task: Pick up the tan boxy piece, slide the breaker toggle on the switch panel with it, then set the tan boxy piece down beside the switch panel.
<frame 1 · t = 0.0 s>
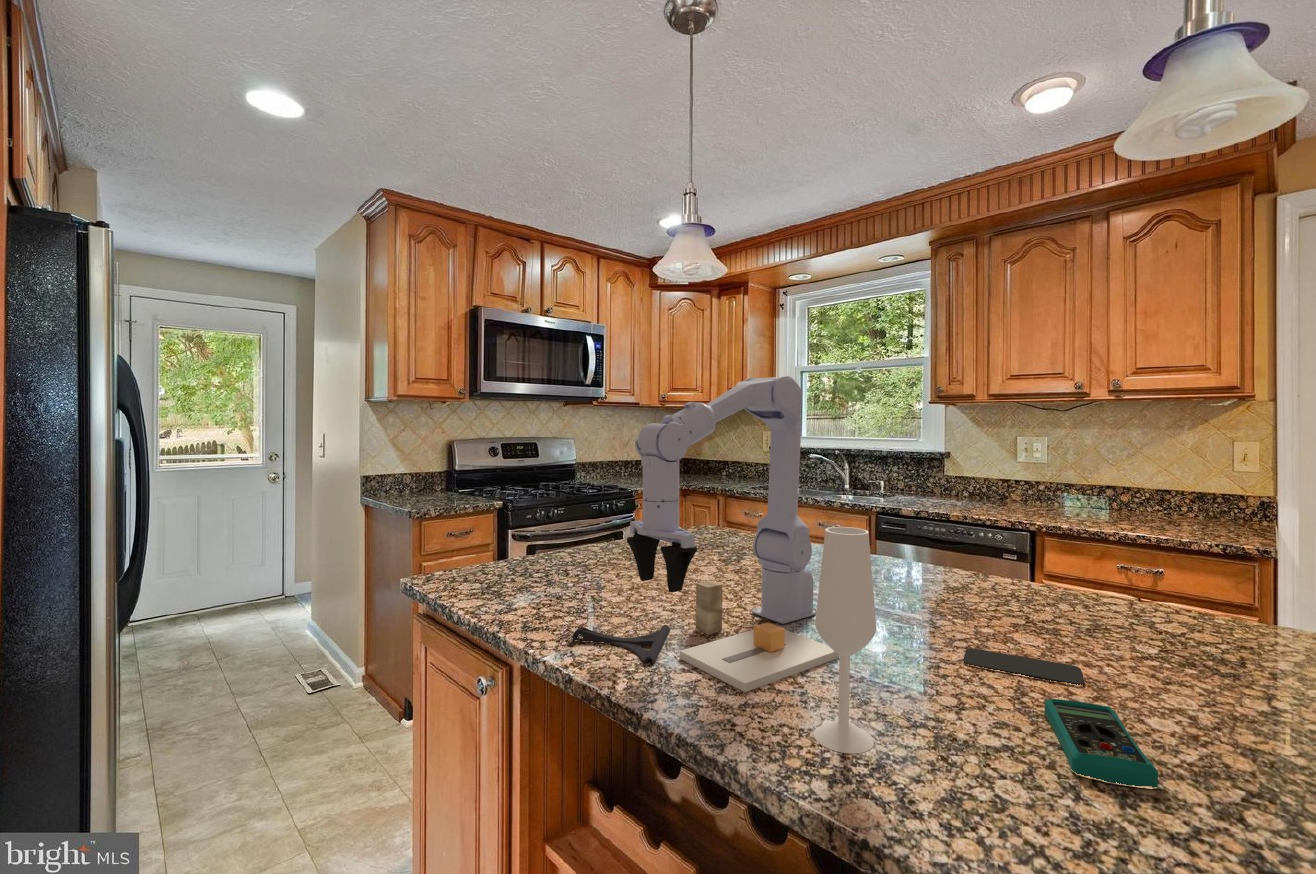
hand: (660, 585, 97), 10 cm above the countertop, tool pointing down, fingers open, 7 cm apart
breaker toggle: (769, 637, 95), point 3 cm above the countertop, slide at 0.0 cm
champagne flute: (843, 739, 71), on the countertop
phone: (1020, 671, 91), on the countertop
bracket: (618, 648, 100), on the countertop
tan boxy piece: (708, 629, 107), on the countertop
switch panel: (759, 658, 94), on the countertop
digital multimeter: (1094, 754, 69), on the countertop
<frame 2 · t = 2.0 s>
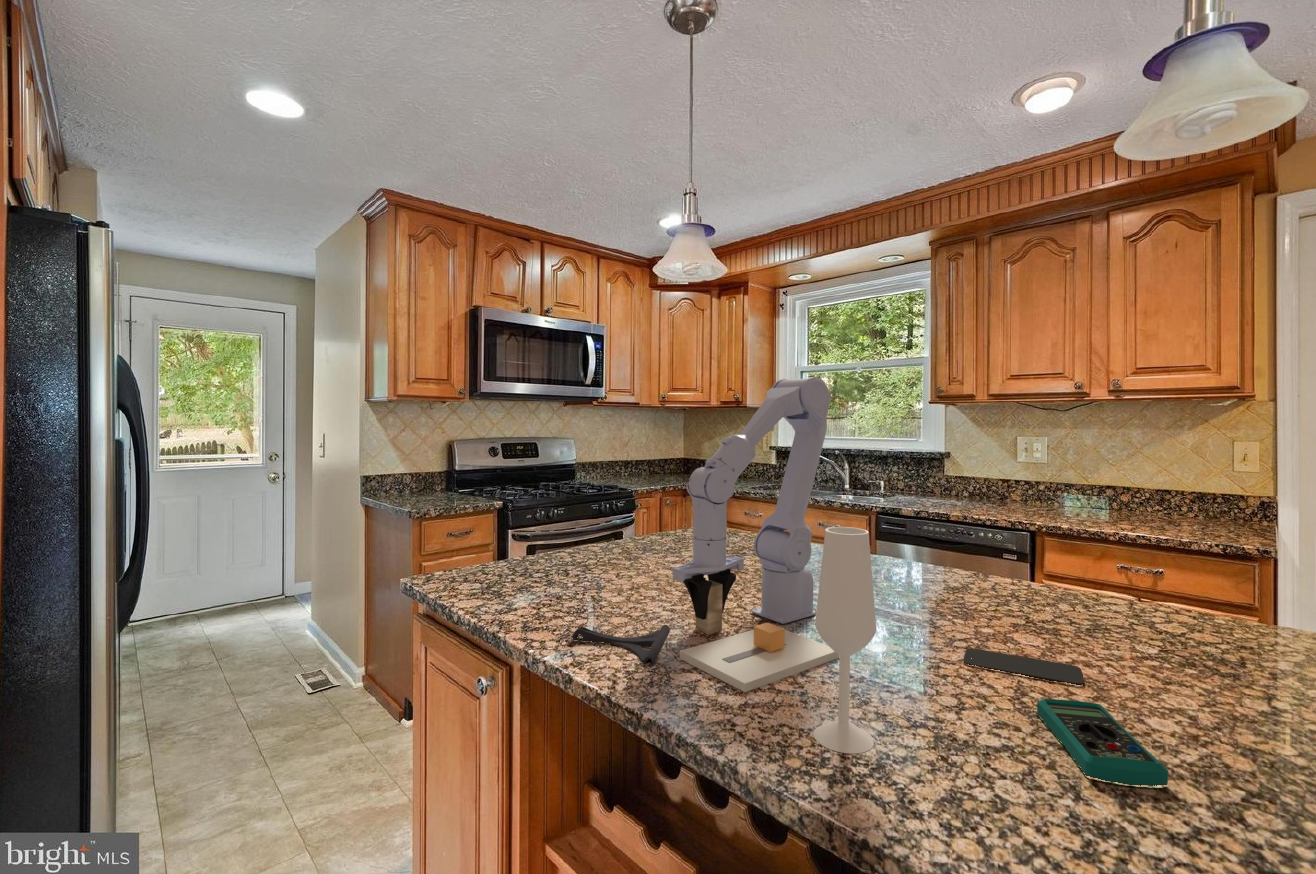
hand: (709, 615, 106), 2 cm above the countertop, tool pointing down, fingers closed on tan boxy piece, 3 cm apart
tan boxy piece: (708, 629, 107), on the countertop, touching gripper
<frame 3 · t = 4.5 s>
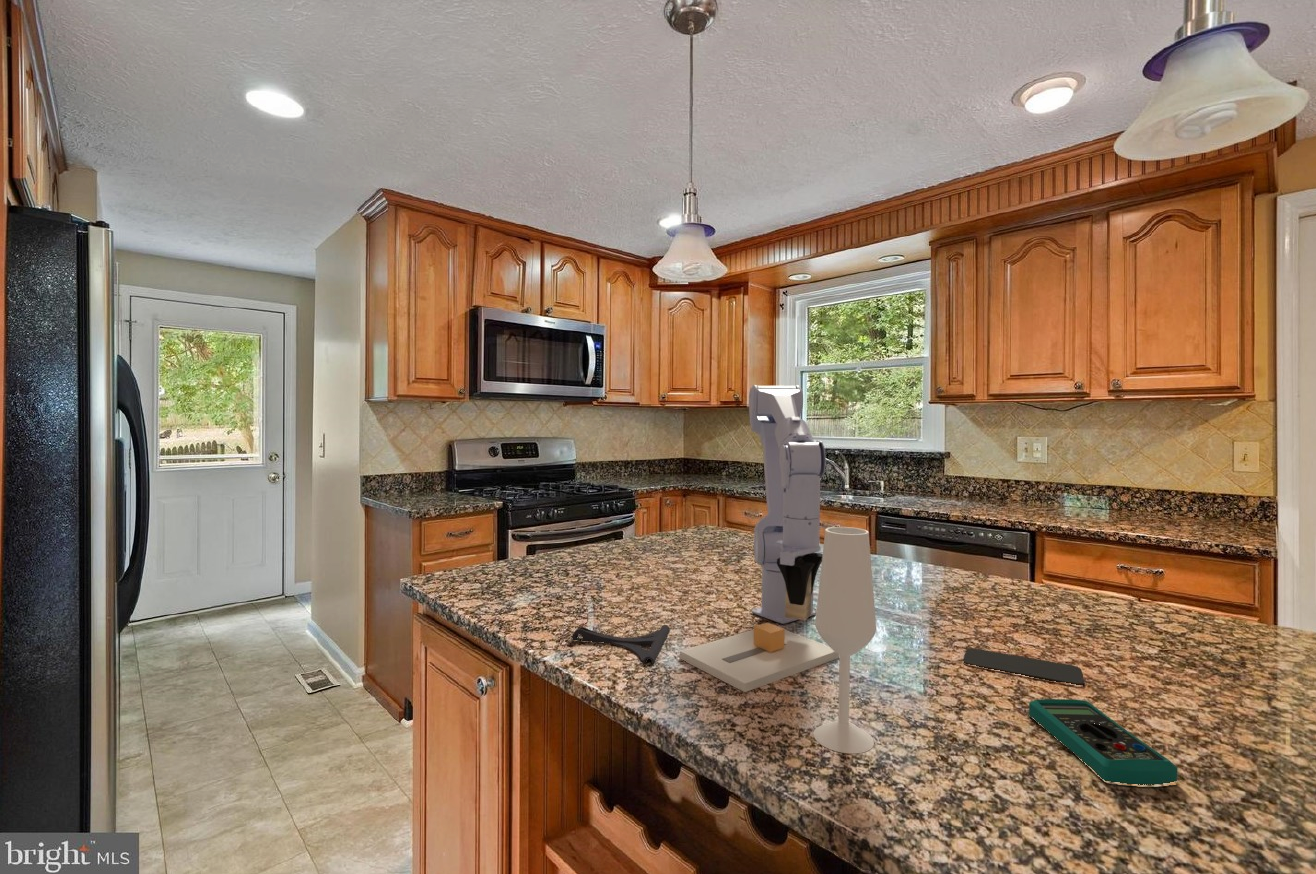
hand: (800, 600, 99), 7 cm above the countertop, tool pointing down, fingers closed on tan boxy piece, 3 cm apart
tan boxy piece: (798, 616, 99), point 5 cm above the countertop, touching gripper
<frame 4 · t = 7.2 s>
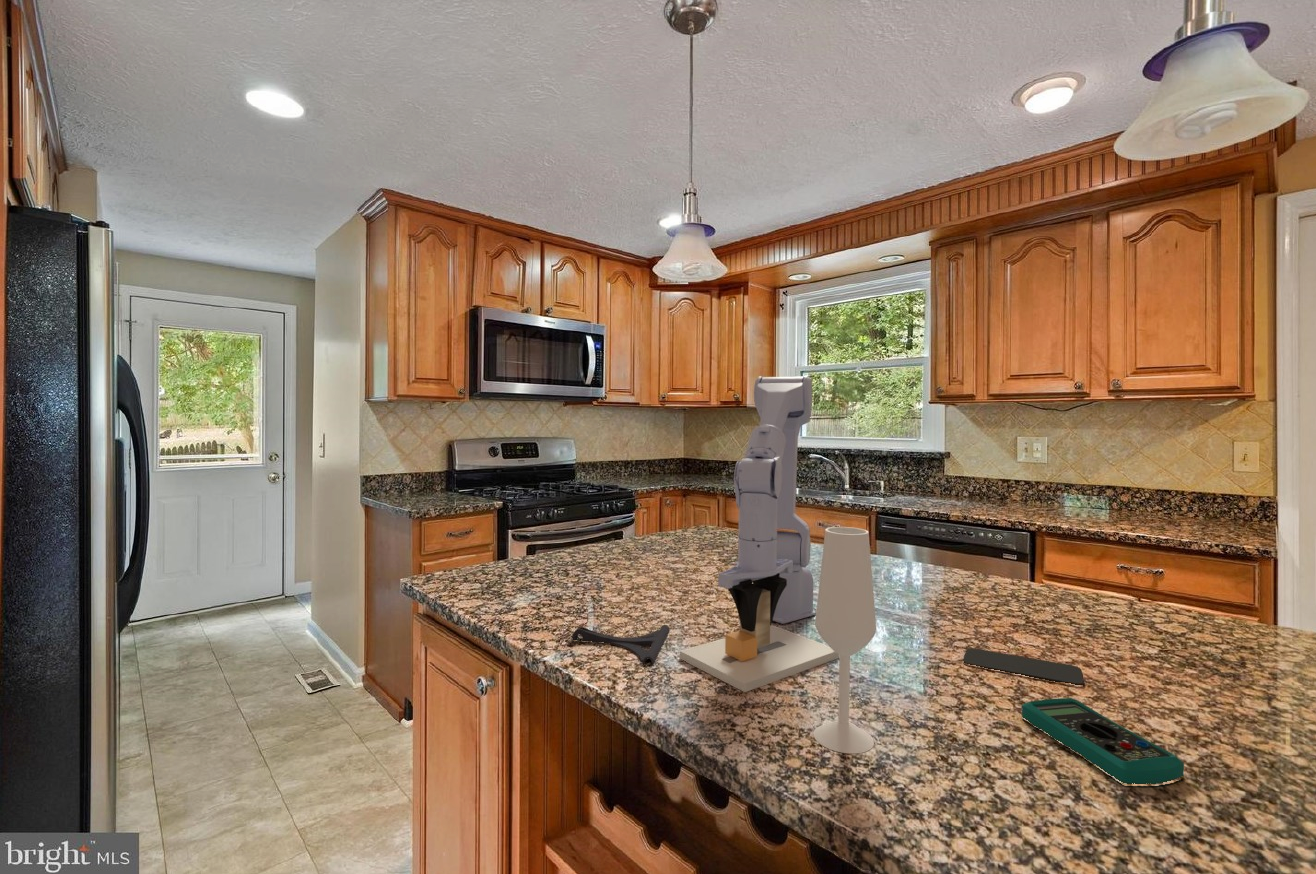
hand: (756, 626, 93), 5 cm above the countertop, tool pointing down, fingers closed on tan boxy piece, 3 cm apart
breaker toggle: (741, 645, 92), point 3 cm above the countertop, slide at 6.0 cm, touching tan boxy piece
tan boxy piece: (754, 642, 94), point 2 cm above the countertop, touching breaker toggle, gripper
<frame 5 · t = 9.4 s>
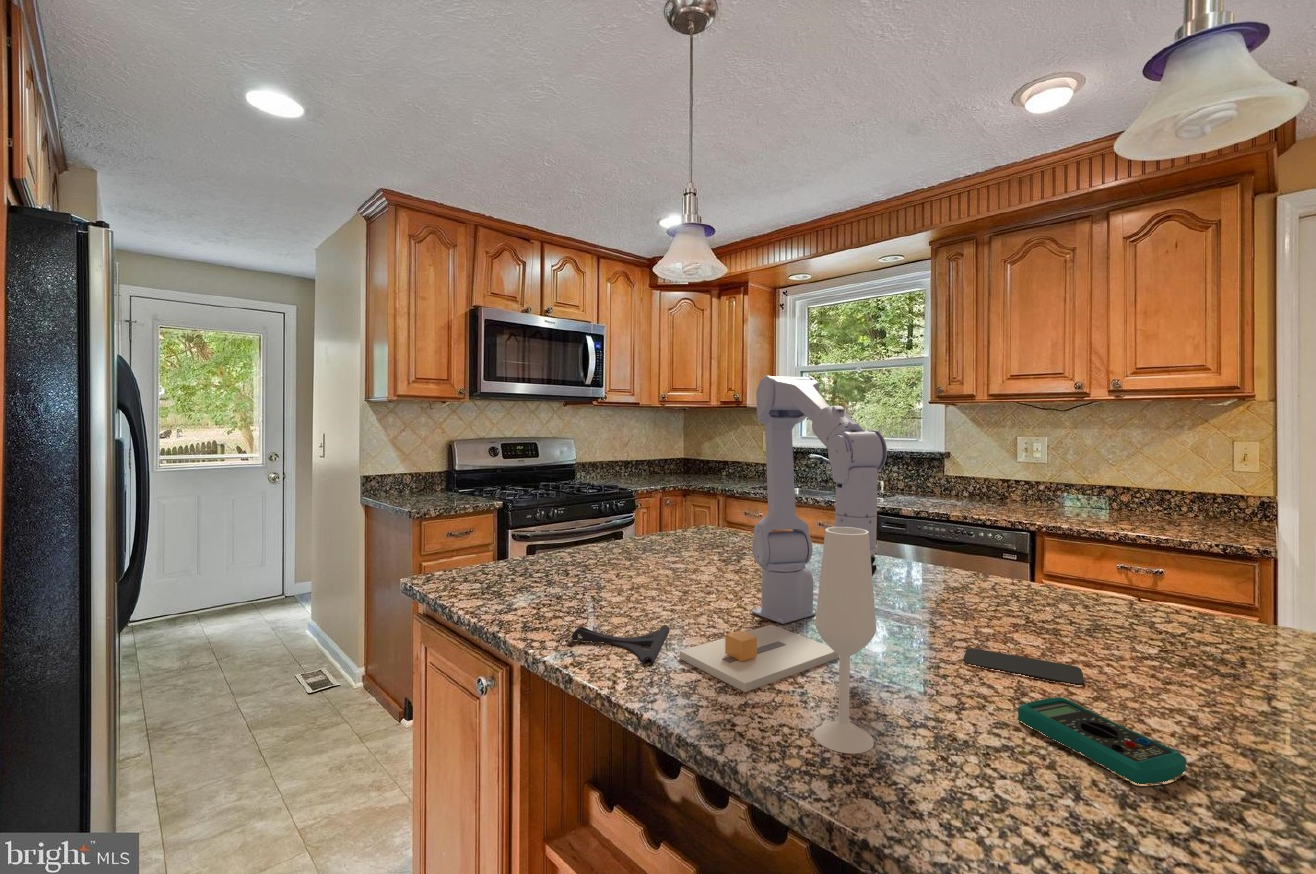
hand: (854, 607, 90), 9 cm above the countertop, tool pointing down, fingers closed on tan boxy piece, 3 cm apart
breaker toggle: (741, 645, 92), point 3 cm above the countertop, slide at 6.0 cm
tan boxy piece: (850, 624, 90), point 7 cm above the countertop, touching gripper
when the fingers open (3 cm above the countertop, at t = 11.5 s): tan boxy piece stays where it is, on the countertop.
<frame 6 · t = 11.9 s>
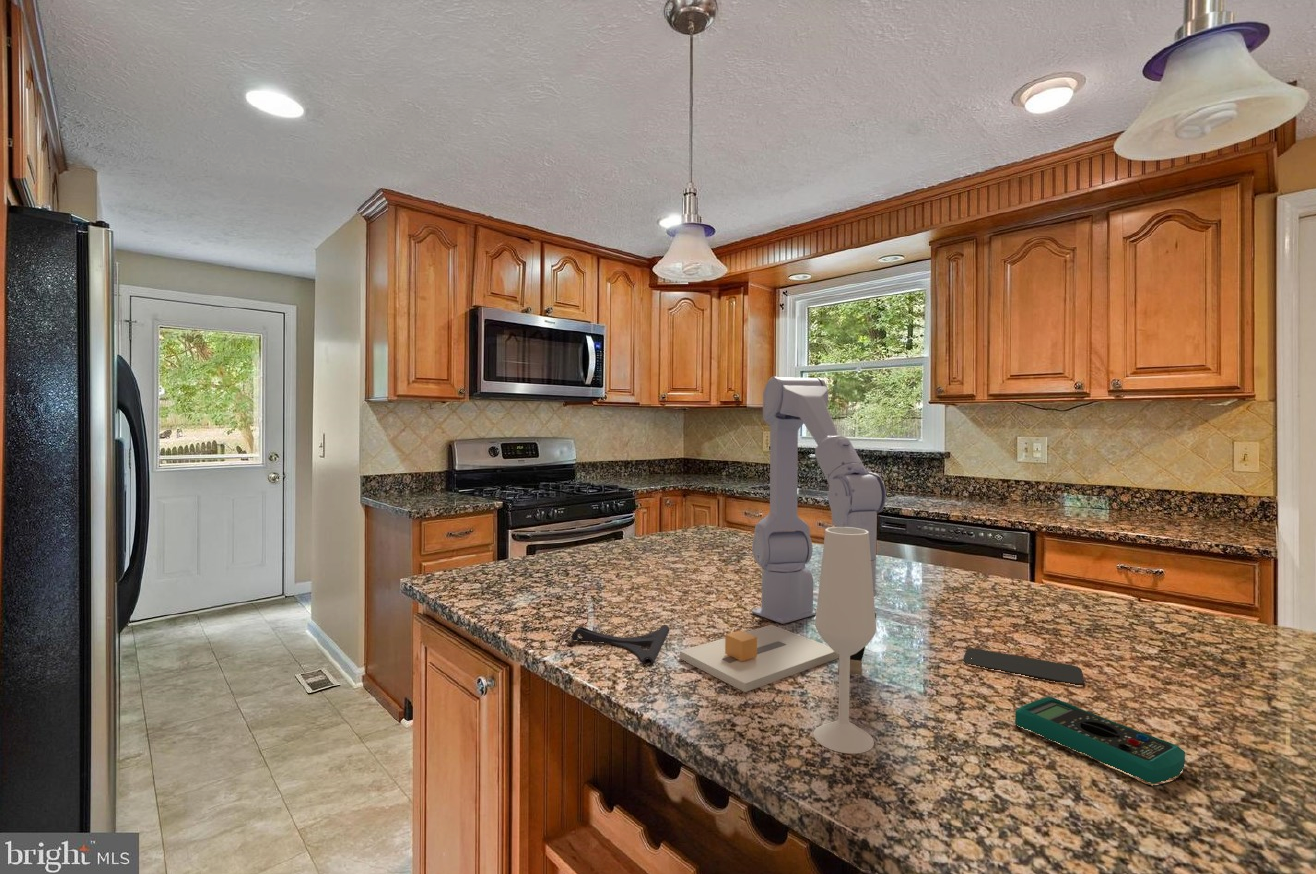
hand: (853, 649, 90), 3 cm above the countertop, tool pointing down, fingers open, 7 cm apart
tan boxy piece: (849, 669, 90), on the countertop
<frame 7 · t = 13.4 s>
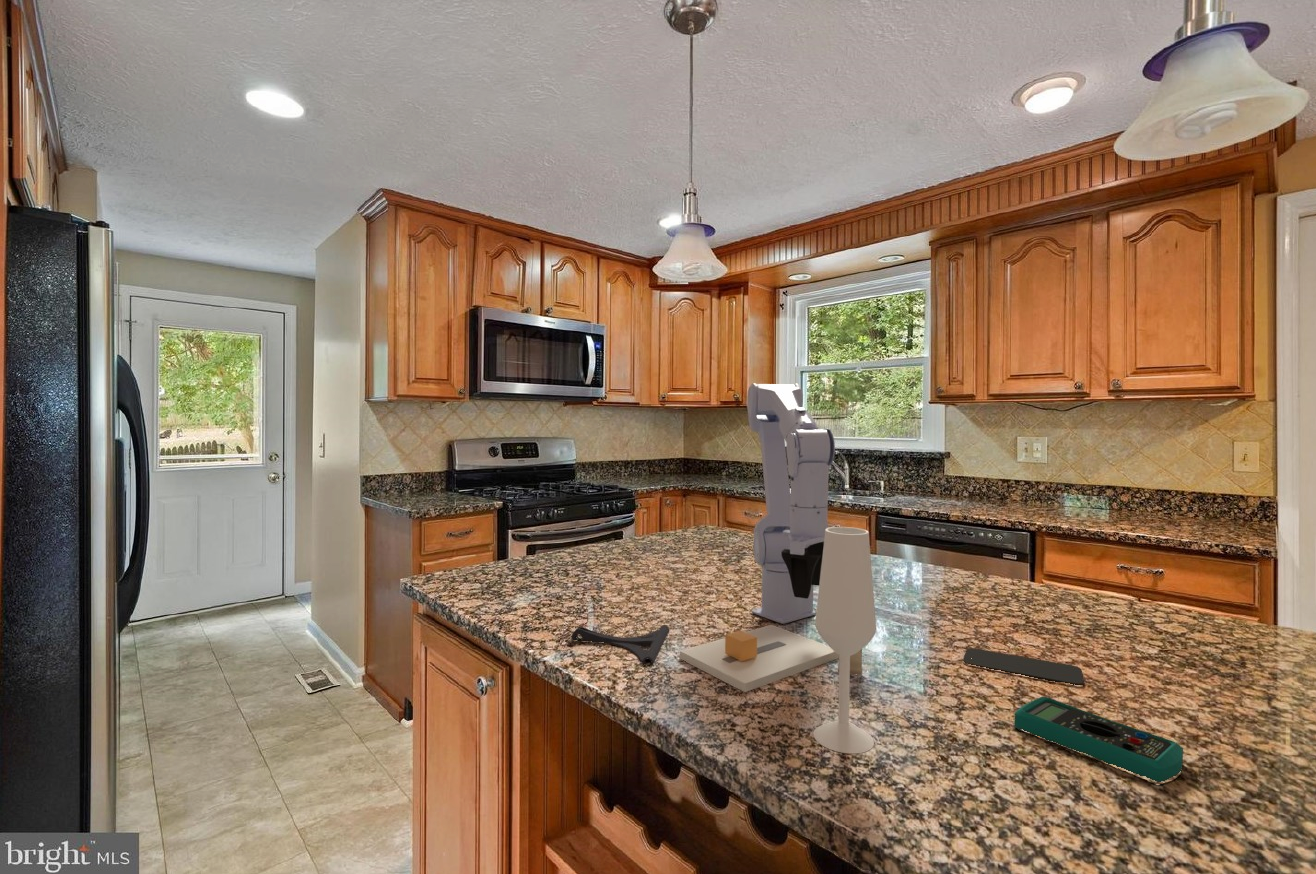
hand: (807, 590, 98), 9 cm above the countertop, tool pointing down, fingers open, 7 cm apart
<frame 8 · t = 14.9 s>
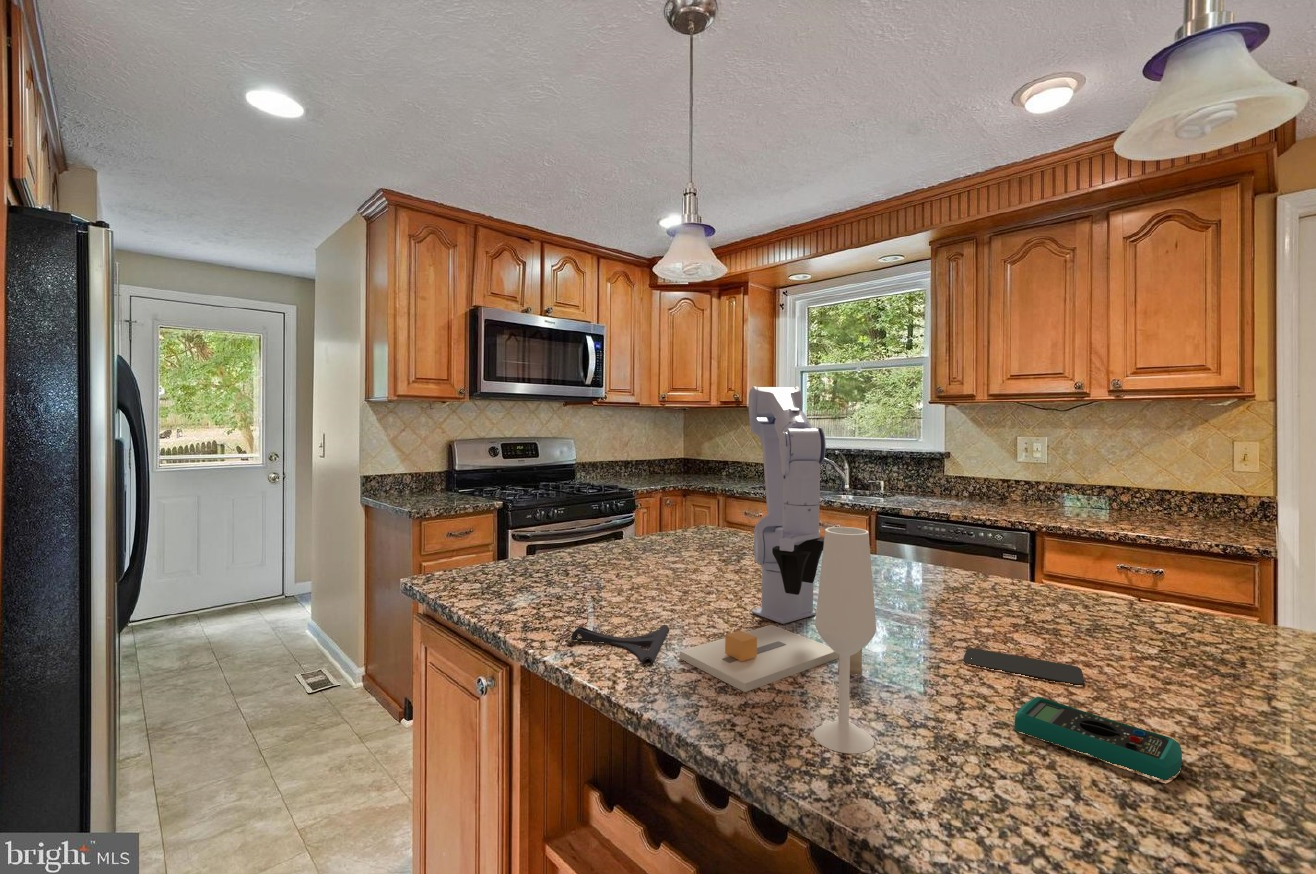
hand: (799, 587, 99), 9 cm above the countertop, tool pointing down, fingers open, 7 cm apart
at the end: breaker toggle slide at 6.0 cm; tan boxy piece 0.5 cm from the target spot, on the countertop; tan boxy piece tilted 0° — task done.
